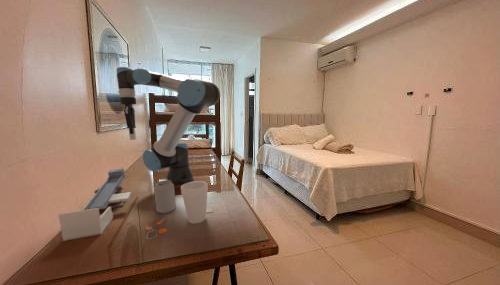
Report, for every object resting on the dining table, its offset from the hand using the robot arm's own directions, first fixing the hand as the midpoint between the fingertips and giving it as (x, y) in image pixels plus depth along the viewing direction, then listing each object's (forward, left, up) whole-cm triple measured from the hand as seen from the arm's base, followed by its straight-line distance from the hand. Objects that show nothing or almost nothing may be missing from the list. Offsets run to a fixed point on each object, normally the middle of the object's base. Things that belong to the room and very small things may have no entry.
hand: (133, 139), depth 116 cm
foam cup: (-52, +36, -27) cm, 69 cm away
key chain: (-40, +43, -27) cm, 65 cm away
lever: (-10, +25, -20) cm, 34 cm away
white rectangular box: (-16, +45, -26) cm, 55 cm away
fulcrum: (-7, +27, -26) cm, 38 cm away
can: (-36, +30, -27) cm, 54 cm away
